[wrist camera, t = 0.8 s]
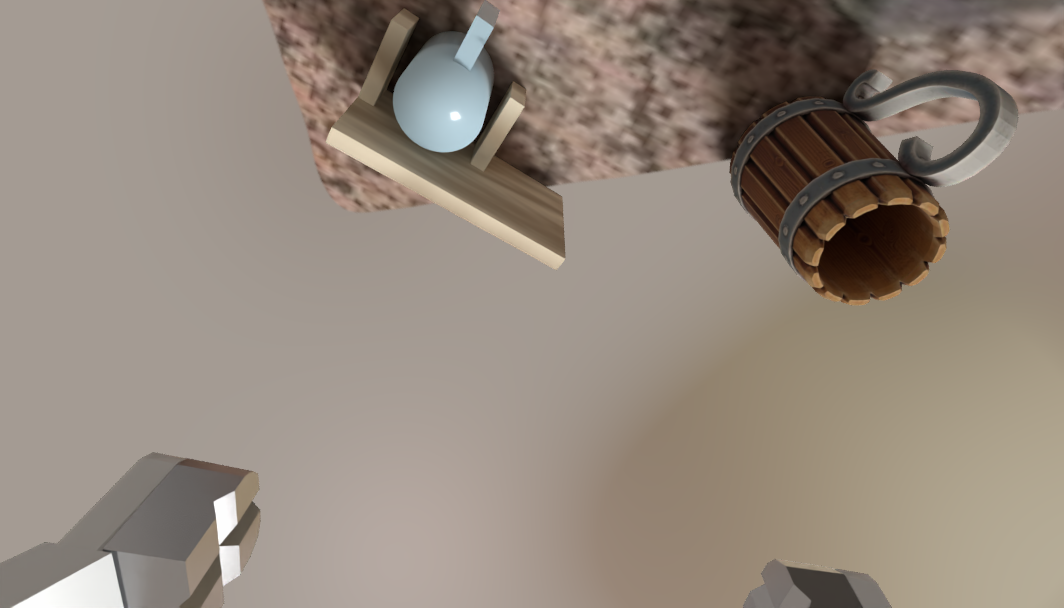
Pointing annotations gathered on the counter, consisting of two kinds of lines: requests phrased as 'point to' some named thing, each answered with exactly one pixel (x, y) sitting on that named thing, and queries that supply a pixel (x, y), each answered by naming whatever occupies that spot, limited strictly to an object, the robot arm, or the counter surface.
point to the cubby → (452, 160)
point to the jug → (448, 87)
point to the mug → (862, 181)
